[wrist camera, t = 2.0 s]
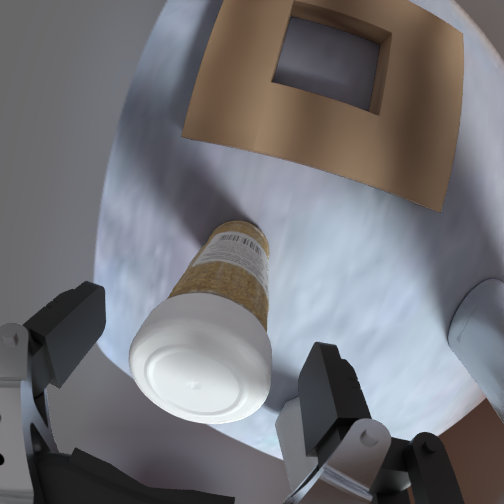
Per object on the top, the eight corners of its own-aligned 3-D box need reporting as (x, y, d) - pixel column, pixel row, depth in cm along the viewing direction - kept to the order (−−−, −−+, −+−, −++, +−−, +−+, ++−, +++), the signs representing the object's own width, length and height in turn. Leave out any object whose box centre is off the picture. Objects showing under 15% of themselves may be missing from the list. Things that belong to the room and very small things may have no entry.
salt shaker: (273, 422, 26) (271, 525, 14) (276, 389, 24) (276, 510, 12) (325, 421, 26) (339, 520, 13) (335, 388, 24) (359, 502, 12)
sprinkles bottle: (196, 254, 20) (106, 378, 8) (232, 205, 19) (163, 290, 6) (245, 289, 21) (216, 442, 8) (283, 245, 20) (305, 382, 7)
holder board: (448, 41, 13) (463, 33, 11) (423, 206, 18) (440, 212, 16) (246, -28, 13) (243, -45, 10) (192, 139, 18) (181, 136, 15)
